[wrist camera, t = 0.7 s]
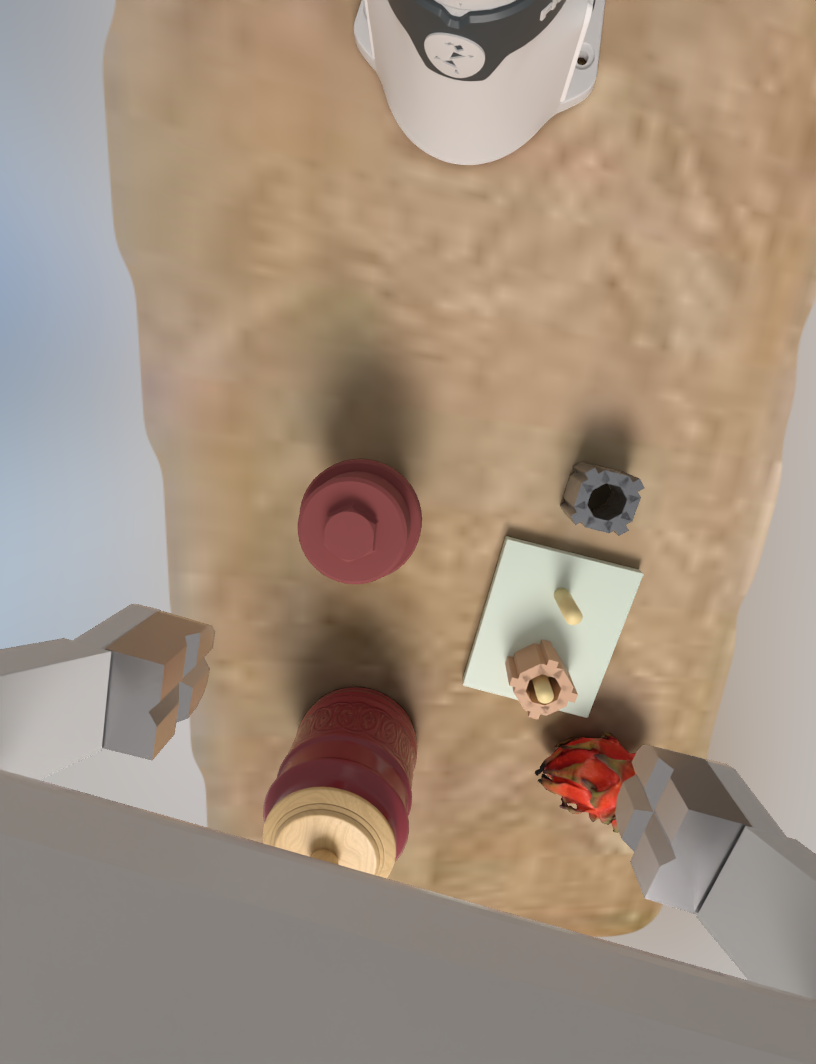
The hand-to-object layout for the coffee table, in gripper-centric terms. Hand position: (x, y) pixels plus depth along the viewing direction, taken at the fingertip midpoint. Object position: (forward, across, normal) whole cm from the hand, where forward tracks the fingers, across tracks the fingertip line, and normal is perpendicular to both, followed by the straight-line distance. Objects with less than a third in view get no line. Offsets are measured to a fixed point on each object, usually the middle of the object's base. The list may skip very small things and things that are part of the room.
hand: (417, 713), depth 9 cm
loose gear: (+39, -14, -1) cm, 41 cm away
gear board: (+39, -14, +13) cm, 43 cm away
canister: (+39, +2, +31) cm, 50 cm away
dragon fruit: (+39, -22, +26) cm, 52 cm away
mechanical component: (+39, +6, +6) cm, 40 cm away
